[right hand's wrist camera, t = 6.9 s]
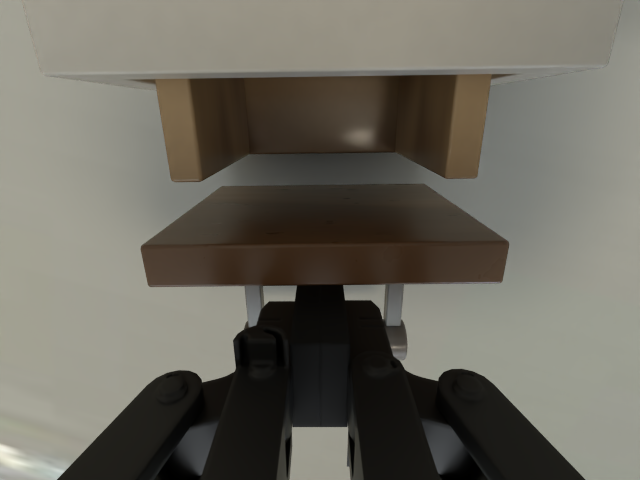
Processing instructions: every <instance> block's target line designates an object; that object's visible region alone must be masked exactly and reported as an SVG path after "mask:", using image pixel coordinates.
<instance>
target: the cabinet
mask: <svg viewBox="0 0 640 480" xmlns="http://www.w3.org/2000/svg"><path fill="white" fill-rule="evenodd" d="M623 1H624V0H22V3H23V7H24V11H25V14H26V18H27V22H28V26H29V30H30V33H31V37H32V41H33V45H34V49H35V52H36V56H37V60H38V64H39V68H40V71H41V73H42V74H43V75H45V76H50V77H57V78H64V79H72V80H81V81H87V82H94V83H101V84H109V85H116V86H124V87H131V88H139V89H146V90H153V91H157V89H156V83H155V79H192V78H258V77H325V76H391V75H458V74H492V76H491V83H490V86H492V85H498V84H505V83H511V82H517V81H523V80H529V79H536V78H542V77H548V76H554V75H561V74H567V73H572V72H579V71H585V70H591V69H597V68H603V67H605V66H607V64H608V62H609V58H610V54H611V50H612V46H613V42H614V38H615V34H616V29H617V25H618V21H619V17H620V13H621V9H622V5H623Z"/></svg>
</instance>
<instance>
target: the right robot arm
mask: <svg viewBox="0 0 640 480" xmlns="http://www.w3.org/2000/svg"><path fill="white" fill-rule="evenodd" d="M233 343H234V353H235V362H236V370H235V372H234V373H232V374H230V375H228V376H225V377H222V378H219V379H215V380H211V381H207V382H203V383H202V380H201V378H200V377H199V376H198V375H197V374H196V373H193V372H191V371H181V370H178V371H174V372H169V373H166V374H164V375H162V376H160V377H158V378H156V379H155V380H153V381H152V382H151V383H150V384H148V385H147V386H146V387H145V388H144V389H143V390H142V391H141V392H140V393H139V395H138V396H137V397H136V398H135V399H134V400H133V401H132V402H131V403H130V404H129V405H128V406H127V407H126V408H125V409H124V410H123V411H122V412H121V413H120V414H119V415H118V416H117V418H116V419H115V420H114V421H113V422H112V423H111V424H110V425H109V426H108V427H107V428H106V429H105V430H104V431H103V432H102V433H101V434H100V435H99V436H98V437H97V438H96V440H95V441H94V442H93V443H92V444H91V445H90V446H89V447H88V448H87V449H86V450H85V451H84V452H83V453H82V454H81V455H80V456H79V457H78V458H77V459H76V460H75V461H74V463H73V464H72V465H71V466H70V467H69V468H68V469H67V470H66V471H65V472H64V473H63V474H62V475H61V476H60V477H59V478H58V479H57V480H289V478H290V466H291V453H292V425H293V427H347V426H348V455H347V466H350V478H351V480H585V479H584V478H583V477H582V476H581V475H580V474H579V473H578V472H577V471H576V469H575V468H574V467H573V466H572V465H571V464H570V463H569V462H568V461H567V460H566V459H565V458H564V457H563V456H562V455H561V454H560V453H559V452H558V451H557V450H556V449H555V448H554V447H553V446H552V445H551V444H550V442H549V441H548V440H547V439H546V438H545V437H544V436H543V435H542V434H541V433H540V432H539V431H538V430H537V429H536V428H535V427H534V426H533V425H532V424H531V423H530V422H529V421H528V420H527V419H526V418H525V416H524V415H523V414H522V413H521V412H520V411H519V410H518V409H517V408H516V407H515V406H514V405H513V404H512V403H511V402H510V401H509V400H508V399H507V398H506V397H505V396H504V395H503V394H502V393H501V392H500V391H499V389H498V388H497V387H496V386H495V385H494V384H493V383H491V382H490V381H489V380H488V379H486V378H485V377H484V376H482V375H479V374H477V373H475V372H473V371H469V370H464V369H451V370H448V371H446V372H443V374H442V375H441V376H440V377H439V380H438V381H435V380H430V379H426V378H422V377H419V376H416V375H413V374H411V373H409V372H407V371H406V370H405V369H404V367H403V365H402V364H401V362H400V361H399V360H398V359H397V358H395V357H394V356H393V352H392V349H391V346H390V342H389V339H388V336H387V333H386V329H385V327H384V323H383V320H382V316H381V313H380V309H379V308H378V307H377V306H376V305H375V304H374V303H373V302H372V301H371V300H345V298H344V290H343V285H297V290H296V298H295V301H269V302H268V303H267V304H266V305H265V306H264V307H263V308H262V309H261V311H260V314H259V317H258V321H257V324H256V326H252V327H249V328H246V329H244V330H243V331H241V332H240V333H238V334H237V336H236V337H235V339H234V340H233Z"/></svg>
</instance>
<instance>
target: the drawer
mask: <svg viewBox="0 0 640 480" xmlns="http://www.w3.org/2000/svg"><path fill="white" fill-rule="evenodd" d="M491 76H492V74H458V75H391V76H325V77H258V78H192V79H155V83H156V89H157V95H158V101H159V107H160V114H161V120H162V126H163V132H164V138H165V144H166V151H167V157H168V163H169V169H170V175H171V180H172V181H174V182H201V181H203V180H204V179H206V178H208V177H210V176H211V175H213V174H215V173H217V172H219V171H220V170H222V169H224V168H226V167H227V166H229V165H231V164H233V163H234V162H236V161H238V160H240V159H241V158H243V157H245V156H247V155H248V154H305V153H379V152H396V153H398V154H400V155H402V156H404V157H406V158H408V159H410V160H412V161H414V162H415V163H417V164H419V165H421V166H423V167H425V168H427V169H429V170H431V171H433V172H435V173H436V174H438V175H440V176H442V177H444V178H446V179H468V178H476V177H477V174H478V167H479V160H480V153H481V146H482V139H483V132H484V125H485V118H486V111H487V104H488V97H489V90H490V83H491ZM508 248H509V242H508V241H507V240H506V239H504V238H503V237H501V236H500V235H498V234H497V233H495V232H494V231H492V230H491V229H489V228H488V227H487V226H485V225H484V224H482V223H481V222H479V221H478V220H476V219H475V218H473V217H472V216H471V215H469V214H468V213H466V212H465V211H463V210H462V209H460V208H459V207H457V206H456V205H454V204H453V203H452V202H450V201H449V200H447V199H446V198H444V197H443V196H441V195H440V194H438V193H437V192H435V191H434V190H433V189H431V188H430V187H428V186H427V185H425V184H367V185H289V186H222V187H220V188H219V189H217V190H216V191H215V192H213V193H212V194H211V195H209V196H208V197H207V198H205V199H204V200H203V201H201V202H200V203H199V204H197V205H196V206H194V207H193V208H192V209H190V210H189V211H188V212H186V213H185V214H184V215H182V216H181V217H180V218H178V219H177V220H176V221H174V222H173V223H171V224H170V225H169V226H167V227H166V228H165V229H163V230H162V231H161V232H159V233H158V234H157V235H155V236H154V237H153V238H151V239H150V240H148V241H147V242H146V243H144V244H143V245H142V246H141V253H142V258H143V262H144V267H145V272H146V277H147V282H148V285H149V286H150V287H193V286H245V295H246V305H247V315H248V321H247V322H246V325H245V328H244V329H246V328H249V327H252V326H256V324H257V321H258V317H259V314H260V311H261V309H262V308H263V307H264V296H263V286H285V285H377V284H386V286H385V304H384V319H382V320H383V323H384V327H385V329H386V333H387V336H388V339H389V342H390V346H391V349H392V352H393V356H394V357H395V358H397V359H398V360H404V359H405V358H406V354H407V335H406V329H405V325H404V322H403V320H401V313H402V301H403V288H404V284H470V283H501V282H502V280H503V275H504V270H505V264H506V259H507V254H508Z"/></svg>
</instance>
